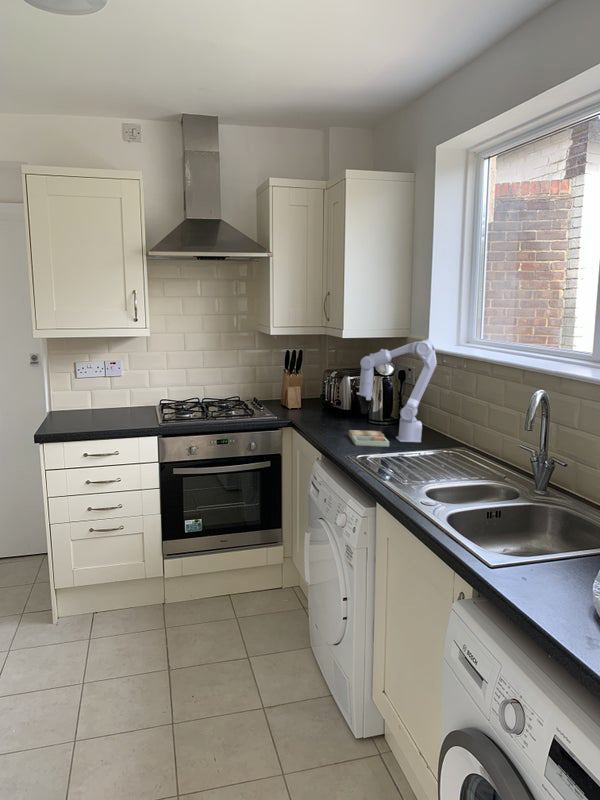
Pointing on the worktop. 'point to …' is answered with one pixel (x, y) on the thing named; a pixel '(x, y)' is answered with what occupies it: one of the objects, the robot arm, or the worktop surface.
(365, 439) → the grey tile
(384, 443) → the tray
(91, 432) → the worktop surface
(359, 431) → the board
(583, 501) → the worktop surface
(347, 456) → the worktop surface
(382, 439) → the terracotta tile
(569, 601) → the worktop surface
